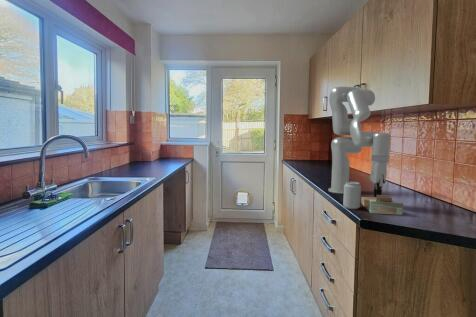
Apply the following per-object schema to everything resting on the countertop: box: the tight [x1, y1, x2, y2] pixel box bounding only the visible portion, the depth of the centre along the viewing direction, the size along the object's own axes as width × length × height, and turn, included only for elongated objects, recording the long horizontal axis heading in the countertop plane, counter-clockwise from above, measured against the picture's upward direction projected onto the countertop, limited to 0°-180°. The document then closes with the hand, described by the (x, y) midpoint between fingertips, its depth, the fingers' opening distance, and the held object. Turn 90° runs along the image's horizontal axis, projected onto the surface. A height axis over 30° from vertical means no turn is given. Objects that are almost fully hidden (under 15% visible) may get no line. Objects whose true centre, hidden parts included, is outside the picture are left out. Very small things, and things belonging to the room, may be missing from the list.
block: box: [375, 194, 393, 202], centre depth 136 cm, size 5×5×4 cm
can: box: [342, 181, 362, 210], centre depth 142 cm, size 8×8×12 cm
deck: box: [360, 196, 404, 216], centre depth 141 cm, size 18×13×5 cm
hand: (377, 196), depth 147 cm, fingers closed
